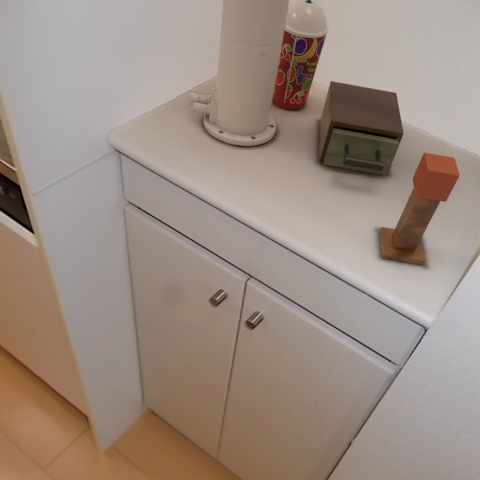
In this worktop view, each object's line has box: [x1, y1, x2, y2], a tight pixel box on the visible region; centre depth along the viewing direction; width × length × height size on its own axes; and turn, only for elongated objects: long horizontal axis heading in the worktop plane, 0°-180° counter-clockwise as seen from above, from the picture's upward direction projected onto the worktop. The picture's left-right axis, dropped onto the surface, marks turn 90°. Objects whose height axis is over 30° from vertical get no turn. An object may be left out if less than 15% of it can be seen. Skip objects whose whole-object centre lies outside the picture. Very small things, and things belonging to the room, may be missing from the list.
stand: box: [379, 187, 441, 266], centre depth 72 cm, size 6×6×10 cm
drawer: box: [323, 126, 400, 176], centre depth 86 cm, size 17×10×6 cm, turn 174°
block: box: [412, 152, 461, 203], centre depth 66 cm, size 4×4×4 cm
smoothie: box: [272, 0, 329, 110], centre depth 92 cm, size 8×8×20 cm
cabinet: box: [318, 80, 404, 175], centre depth 89 cm, size 14×12×8 cm
